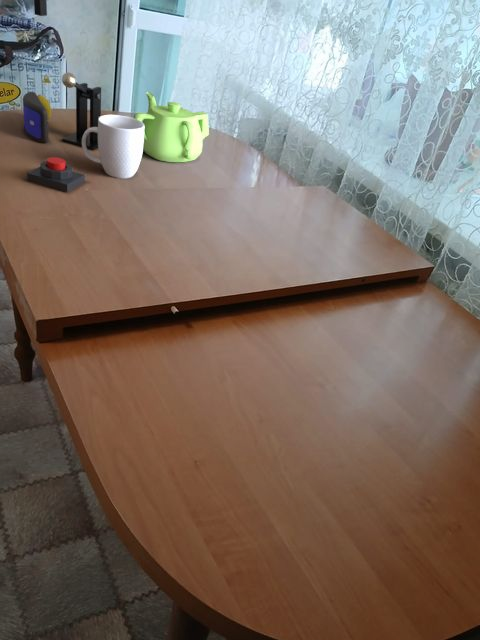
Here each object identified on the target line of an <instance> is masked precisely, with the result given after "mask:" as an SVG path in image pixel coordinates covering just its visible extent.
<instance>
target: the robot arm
mask: <svg viewBox="0 0 480 640" xmlns="http://www.w3.org/2000/svg"><path fill="white" fill-rule="evenodd" d="M33 4H34V5H33V6H34V7H33V9H34V10H33V11H34V15H35V16H39V17H46V16H48V9H47V8H48V5H47V0H33Z"/></svg>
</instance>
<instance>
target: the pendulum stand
mask: <svg viewBox="0 0 480 640" xmlns="http://www.w3.org/2000/svg"><path fill="white" fill-rule="evenodd" d="M79 84H80V85H81V86H83V87H88V86H89V85H88V83H87V82H83V83H79ZM88 88H89V87H88ZM88 100H89V128H91V127H98V118H99V117H100V116H102V87H101V86H96V87H91V89H90V99H86V98H85V97H83V96H82V91H80V90H79V89H77V88H75V125H76V126H75V127H76V129H75V130H76V132H75V133H73V134H71V135H68V136H66V137H63V138H62V143H65V144H69V145H72V146H76V147H79V148H82V137H83V134H84V133H85V131H86V130H87V129H88ZM86 147H87V150H88V151H89V150H90V151H95V150H97V149H98V134H97V133H95V132H90V133H89V134H88V135H87V138H86Z"/></svg>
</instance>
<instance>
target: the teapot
mask: <svg viewBox="0 0 480 640" xmlns="http://www.w3.org/2000/svg"><path fill="white" fill-rule="evenodd" d="M145 95H146V97H147V100H148V108H147V112H146V113H144V112H137V113H135V114H134V115H133V118H134V119H137V120H139V121H141V122H142V123H143V124H144V143H143V152H144V153H145V154H146V155H148V156H150V157H151V158H153V159H155V160H158V161H161V162H167V163H186V162H191V161H194V160H196V159H197V158H199V156H200V155H201V154H202V152H203V140H204V139H206V138H207V137H208V136H209V135H210V130H209V116H208V113H206V112H205V111H194V112H191V110H188V109H186V108H184V107H181V105H182V104H180V103H179V102H176V101H168V102H167V105H157V100H156V98H155V96H154V94H152V93H151V92H149V91H146V92H145Z"/></svg>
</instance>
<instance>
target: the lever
mask: <svg viewBox="0 0 480 640" xmlns="http://www.w3.org/2000/svg"><path fill="white" fill-rule="evenodd" d="M61 83H62V84H63V86H64V87H66V88H69V89H72V88H75V89H76V88H77V89H79V90H80V91H82V96H83V97H85V98H86V99H88V100H90V89H92V87H83V86H81V85H80V84H81V83H79V82H77V79H76V76H75V75H74V74H73V73H71V72H64V73H63V74H62V76H61Z"/></svg>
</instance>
